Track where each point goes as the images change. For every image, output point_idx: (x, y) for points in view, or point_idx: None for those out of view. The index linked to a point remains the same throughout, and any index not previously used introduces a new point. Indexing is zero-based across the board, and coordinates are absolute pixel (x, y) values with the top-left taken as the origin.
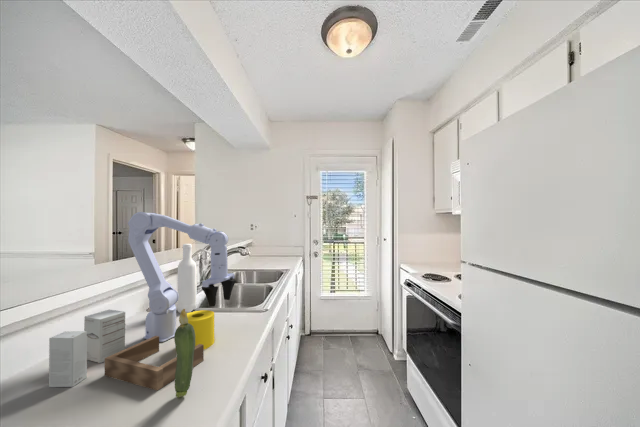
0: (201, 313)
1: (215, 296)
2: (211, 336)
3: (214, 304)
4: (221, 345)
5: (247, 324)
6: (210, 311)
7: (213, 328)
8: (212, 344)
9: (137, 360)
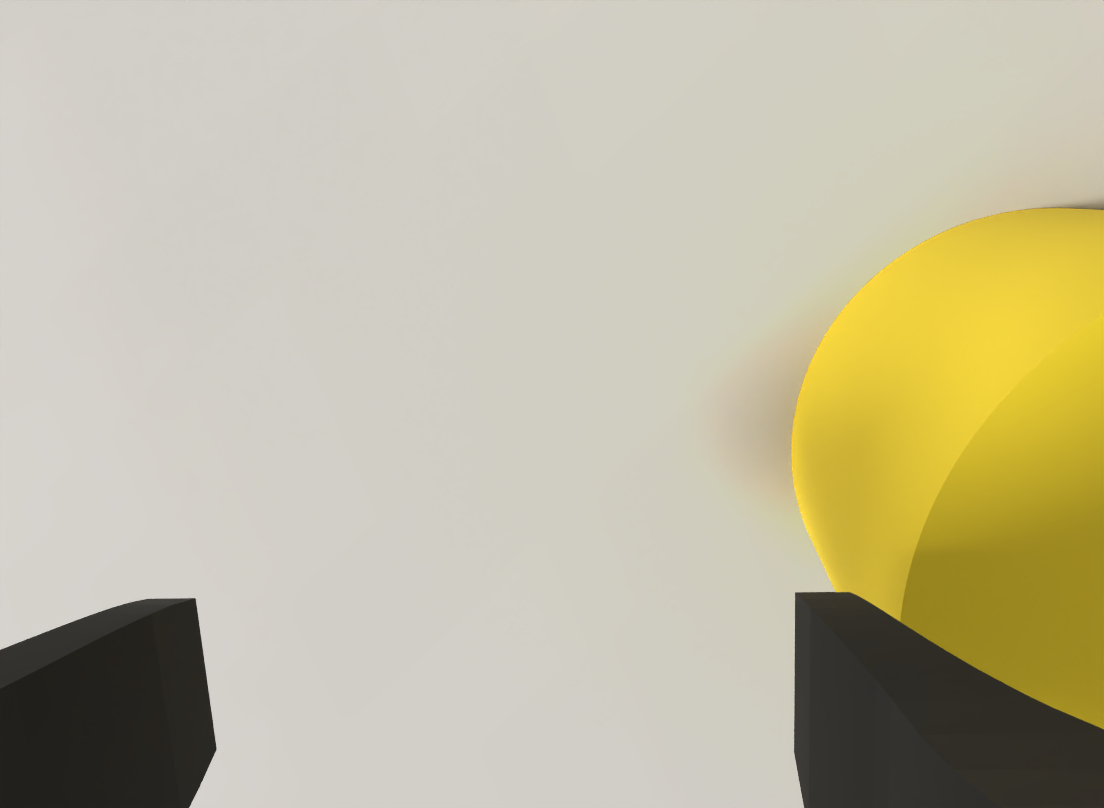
0: None
1: (923, 698)
2: (1070, 214)
3: (855, 599)
4: (949, 66)
5: (127, 240)
6: (960, 553)
7: (1036, 245)
8: (982, 218)
9: None
